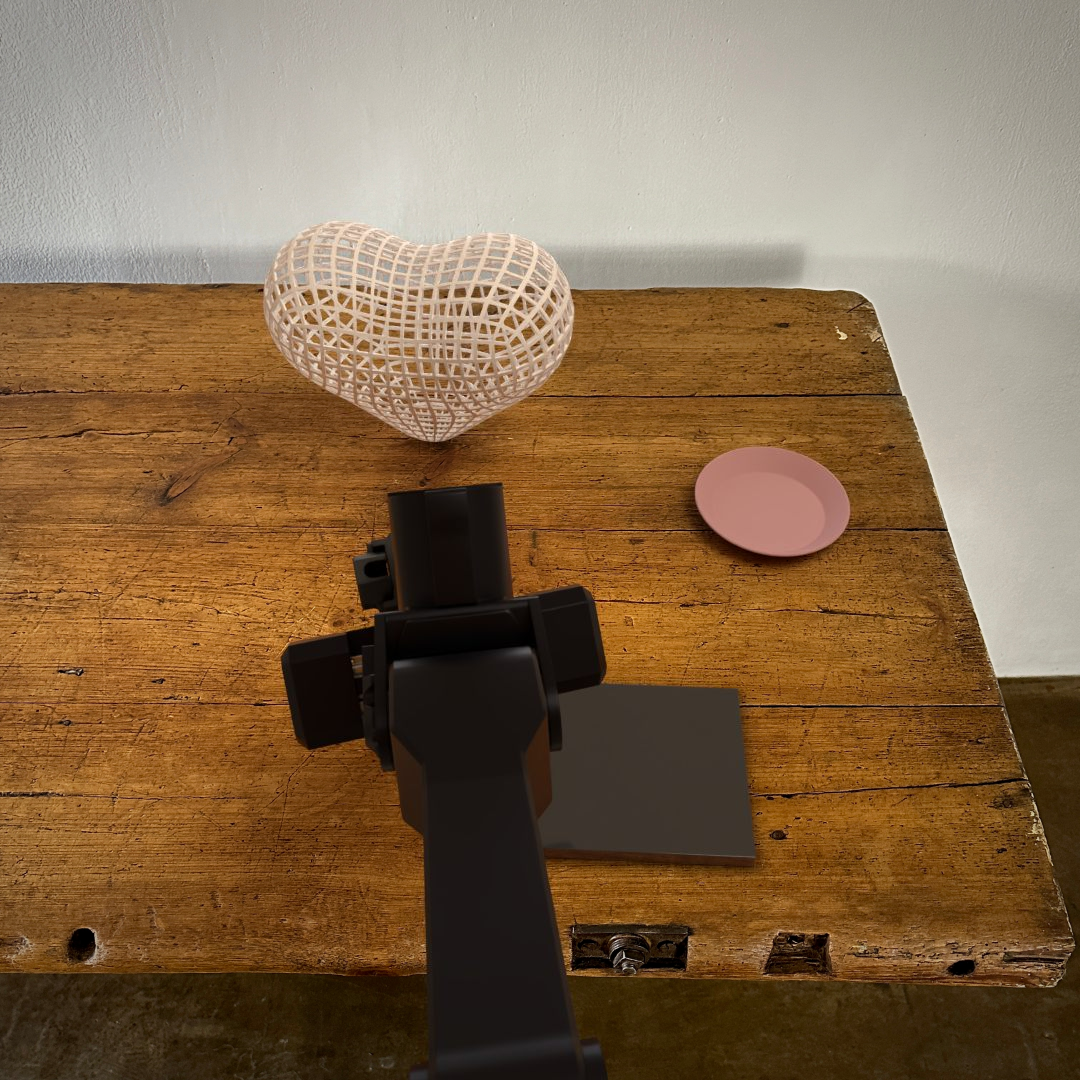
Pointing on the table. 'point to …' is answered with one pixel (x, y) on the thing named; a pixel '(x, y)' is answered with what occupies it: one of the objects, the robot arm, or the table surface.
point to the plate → (772, 501)
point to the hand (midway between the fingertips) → (436, 647)
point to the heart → (420, 322)
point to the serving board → (650, 777)
